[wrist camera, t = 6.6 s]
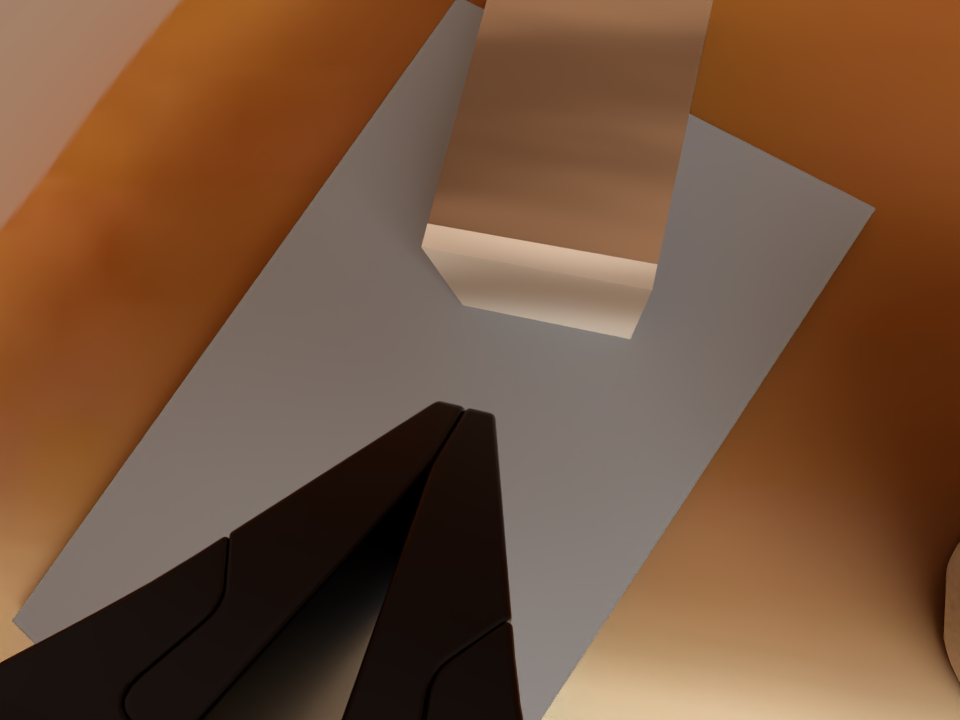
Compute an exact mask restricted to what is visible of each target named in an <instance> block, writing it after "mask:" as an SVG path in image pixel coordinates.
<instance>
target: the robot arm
mask: <svg viewBox="0 0 960 720" xmlns="http://www.w3.org/2000/svg"><path fill="white" fill-rule="evenodd" d="M511 622H512V613H511V601H510V589H509V577H508V564H507V552H506V540H505V528H504V515H503V503H502V491H501V479H500V467H499V454H498V442H497V430H496V419H495V416H494V414H493V413H490V412H485V411H481V410H477V409H473V408H469V409H466V410H465V409H464V408H463V406H460V405H456V404H452V403H447V402H443V401H437V402H434V403H432V404H431V405H429V406H428V407H426V408H425V409H423V410H421V411H420V412H418V413H417V414H415V415H414V416H412V417H410V418H409V419H407V420H406V421H404V422H403V423H401V424H399V425H398V426H396V427H395V428H393V429H392V430H390V431H388V432H387V433H385V434H384V435H382V436H381V437H379V438H378V439H376V440H374V441H373V442H371V443H370V444H368V445H367V446H365V447H363V448H362V449H360V450H359V451H357V452H356V453H354V454H352V455H351V456H349V457H348V458H346V459H345V460H343V461H342V462H340V463H338V464H337V465H335V466H334V467H332V468H331V469H329V470H327V471H326V472H324V473H323V474H321V475H320V476H318V477H316V478H315V479H313V480H312V481H310V482H309V483H307V484H305V485H304V486H302V487H301V488H299V489H298V490H296V491H295V492H293V493H291V494H290V495H288V496H287V497H285V498H284V499H282V500H280V501H279V502H277V503H276V504H274V505H273V506H271V507H269V508H268V509H266V510H265V511H263V512H262V513H260V514H258V515H257V516H255V517H254V518H252V519H251V520H249V521H248V522H246V523H244V524H243V525H241V526H240V527H238V528H237V529H235V530H233V531H232V532H231V533H230V535H229V538H228V537H222V538H220V539H219V540H217V541H216V542H214V543H213V544H211V545H210V546H208V547H206V548H205V549H203V550H202V551H200V552H199V553H197V554H195V555H194V556H192V557H190V558H189V559H187V560H186V561H184V562H182V563H181V564H179V565H177V566H176V567H174V568H172V569H171V570H169V571H167V572H166V573H164V574H162V575H161V576H159V577H158V578H156V579H154V580H153V581H151V582H149V583H147V584H146V585H144V586H142V587H140V588H138V589H137V590H135V591H133V592H131V593H129V594H128V595H126V596H124V597H122V598H120V599H118V600H117V601H115V602H113V603H111V604H109V605H108V606H106V607H104V608H102V609H100V610H99V611H97V612H95V613H93V614H91V615H89V616H87V617H85V618H84V619H82V620H80V621H78V622H76V623H74V624H72V625H70V626H68V627H67V628H65V629H63V630H61V631H59V632H57V633H55V634H53V635H51V636H50V637H48V638H46V639H44V640H42V641H40V642H38V643H36V644H34V645H33V646H31V647H29V648H27V649H25V650H23V651H21V652H19V653H17V654H16V655H14V656H12V657H10V658H8V659H6V660H4V661H2V662H1V663H0V720H524V719H523V714H522V708H521V701H520V692H519V684H518V676H517V667H516V659H515V646H514V634H513V626H512V624H511Z"/></svg>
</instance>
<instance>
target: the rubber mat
mask: <svg viewBox="0 0 960 720" xmlns="http://www.w3.org/2000/svg"><path fill="white" fill-rule="evenodd" d="M483 12H484V9H482V8H480V7H478V6H476V5H474V4H472V3H470V2H468V1H466V0H455V1H454V3H453V4H452V6H451V7H450V8H449V10H448V11H447V13H446V14H445V15H444V17H443V18H442V20H441V21H440V22H439V24H438V25H437V27H436V28H435V29H434V31H433V32H432V34H431V35H430V36H429V38H428V39H427V41H426V42H425V43H424V45H423V46H422V48H421V49H420V50H419V52H418V53H417V55H416V56H415V57H414V59H413V60H412V62H411V63H410V64H409V66H408V67H407V69H406V70H405V71H404V73H403V74H402V76H401V77H400V78H399V80H398V81H397V83H396V84H395V85H394V87H393V88H392V90H391V91H390V92H389V94H388V95H387V97H386V98H385V99H384V101H383V102H382V104H381V105H380V106H379V108H378V109H377V111H376V112H375V113H374V115H373V116H372V118H371V119H370V120H369V122H368V123H367V125H366V126H365V127H364V129H363V130H362V132H361V133H360V134H359V136H358V137H357V139H356V140H355V141H354V143H353V144H352V146H351V147H350V148H349V150H348V151H347V153H346V154H345V155H344V157H343V158H342V160H341V161H340V162H339V164H338V165H337V167H336V168H335V169H334V171H333V172H332V174H331V175H330V176H329V178H328V179H327V181H326V182H325V183H324V185H323V186H322V188H321V189H320V190H319V192H318V193H317V195H316V196H315V197H314V199H313V200H312V202H311V203H310V204H309V206H308V207H307V209H306V210H305V211H304V213H303V214H302V216H301V217H300V218H299V220H298V221H297V223H296V224H295V225H294V227H293V228H292V230H291V231H290V232H289V234H288V235H287V237H286V238H285V239H284V241H283V242H282V244H281V245H280V246H279V248H278V249H277V251H276V252H275V253H274V255H273V256H272V258H271V259H270V260H269V262H268V263H267V265H266V266H265V267H264V269H263V270H262V272H261V273H260V274H259V276H258V277H257V279H256V280H255V281H254V283H253V284H252V286H251V287H250V288H249V290H248V291H247V293H246V294H245V295H244V297H243V298H242V300H241V301H240V302H239V304H238V305H237V307H236V308H235V309H234V311H233V312H232V314H231V315H230V316H229V318H228V319H227V321H226V322H225V323H224V325H223V326H222V328H221V329H220V330H219V332H218V333H217V335H216V336H215V337H214V339H213V340H212V342H211V343H210V344H209V346H208V347H207V349H206V350H205V351H204V353H203V354H202V356H201V357H200V358H199V360H198V361H197V363H196V364H195V365H194V367H193V368H192V370H191V371H190V372H189V374H188V375H187V377H186V378H185V379H184V381H183V382H182V384H181V385H180V386H179V388H178V389H177V391H176V392H175V393H174V395H173V396H172V398H171V399H170V400H169V402H168V403H167V405H166V406H165V407H164V409H163V410H162V412H161V413H160V414H159V416H158V417H157V419H156V420H155V421H154V423H153V424H152V426H151V427H150V428H149V430H148V431H147V433H146V434H145V435H144V437H143V438H142V440H141V441H140V442H139V444H138V445H137V447H136V448H135V449H134V451H133V452H132V454H131V455H130V456H129V458H128V459H127V461H126V462H125V463H124V465H123V466H122V468H121V469H120V470H119V472H118V473H117V475H116V476H115V477H114V479H113V480H112V482H111V483H110V484H109V486H108V487H107V489H106V490H105V491H104V493H103V494H102V496H101V497H100V498H99V500H98V501H97V503H96V504H95V505H94V507H93V508H92V510H91V511H90V512H89V514H88V515H87V517H86V518H85V519H84V521H83V522H82V524H81V525H80V526H79V528H78V529H77V531H76V532H75V533H74V535H73V536H72V538H71V539H70V540H69V542H68V543H67V545H66V546H65V547H64V549H63V550H62V552H61V553H60V554H59V556H58V557H57V559H56V560H55V561H54V563H53V564H52V566H51V567H50V568H49V570H48V571H47V573H46V574H45V575H44V577H43V578H42V580H41V581H40V582H39V584H38V585H37V587H36V588H35V589H34V591H33V592H32V594H31V595H30V596H29V598H28V599H27V601H26V602H25V603H24V605H23V606H22V608H21V609H20V610H19V612H18V613H17V615H16V616H15V617H14V619H13V620H12V621H13V622H14V623H15V624H16V625H17V626H18V627H19V628H20V629H21V630H22V631H23V632H24V633H25V634H26V635H27V636H28V637H29V638H30V639H31V640H32V641H33V642H34V643H35V644H36V643H38V642H40V641H42V640H44V639H46V638H48V637H50V636H51V635H53V634H55V633H57V632H59V631H61V630H63V629H65V628H67V627H68V626H70V625H72V624H74V623H76V622H78V621H80V620H82V619H84V618H85V617H87V616H89V615H91V614H93V613H95V612H97V611H99V610H100V609H102V608H104V607H106V606H108V605H109V604H111V603H113V602H115V601H117V600H118V599H120V598H122V597H124V596H126V595H128V594H129V593H131V592H133V591H135V590H137V589H138V588H140V587H142V586H144V585H146V584H147V583H149V582H151V581H153V580H154V579H156V578H158V577H159V576H161V575H162V574H164V573H166V572H167V571H169V570H171V569H172V568H174V567H176V566H177V565H179V564H181V563H182V562H184V561H186V560H187V559H189V558H190V557H192V556H194V555H195V554H197V553H199V552H200V551H202V550H203V549H205V548H206V547H208V546H210V545H211V544H213V543H214V542H216V541H217V540H219V539H220V538H222V537H228V538H229V535H230V533H231V532H232V531H233V530H235V529H237V528H238V527H240V526H241V525H243V524H244V523H246V522H248V521H249V520H251V519H252V518H254V517H255V516H257V515H258V514H260V513H262V512H263V511H265V510H266V509H268V508H269V507H271V506H273V505H274V504H276V503H277V502H279V501H280V500H282V499H284V498H285V497H287V496H288V495H290V494H291V493H293V492H295V491H296V490H298V489H299V488H301V487H302V486H304V485H305V484H307V483H309V482H310V481H312V480H313V479H315V478H316V477H318V476H320V475H321V474H323V473H324V472H326V471H327V470H329V469H331V468H332V467H334V466H335V465H337V464H338V463H340V462H342V461H343V460H345V459H346V458H348V457H349V456H351V455H352V454H354V453H356V452H357V451H359V450H360V449H362V448H363V447H365V446H367V445H368V444H370V443H371V442H373V441H374V440H376V439H378V438H379V437H381V436H382V435H384V434H385V433H387V432H388V431H390V430H392V429H393V428H395V427H396V426H398V425H399V424H401V423H403V422H404V421H406V420H407V419H409V418H410V417H412V416H414V415H415V414H417V413H418V412H420V411H421V410H423V409H425V408H426V407H428V406H429V405H431V404H432V403H434V402H437V401H443V402H447V403H452V404H456V405H460V406H463V408H464V409H465V410H466V409H469V408H473V409H477V410H481V411H485V412H490V413H493V414H494V416H495V419H496V430H497V442H498V454H499V467H500V479H501V491H502V503H503V515H504V528H505V540H506V552H507V564H508V577H509V589H510V601H511V613H512V622H511V624H512V626H513V634H514V646H515V659H516V667H517V676H518V684H519V692H520V701H521V708H522V714H523V719H524V720H541V719H542V717H543V716H544V714H545V713H546V711H547V710H548V708H549V707H550V705H551V704H552V702H553V700H554V699H555V697H556V696H557V694H558V693H559V691H560V690H561V688H562V687H563V685H564V684H565V682H566V681H567V679H568V678H569V676H570V675H571V673H572V671H573V670H574V668H575V667H576V665H577V664H578V662H579V661H580V659H581V658H582V656H583V655H584V653H585V652H586V650H587V649H588V647H589V646H590V644H591V642H592V641H593V639H594V638H595V636H596V635H597V633H598V632H599V630H600V629H601V627H602V626H603V624H604V623H605V621H606V620H607V618H608V617H609V615H610V613H611V612H612V610H613V609H614V607H615V606H616V604H617V603H618V601H619V600H620V598H621V597H622V595H623V594H624V592H625V591H626V589H627V588H628V586H629V584H630V583H631V581H632V580H633V578H634V577H635V575H636V574H637V572H638V571H639V569H640V568H641V566H642V565H643V563H644V562H645V560H646V559H647V557H648V555H649V554H650V552H651V551H652V549H653V548H654V546H655V545H656V543H657V542H658V540H659V539H660V537H661V536H662V534H663V533H664V531H665V530H666V528H667V526H668V525H669V523H670V522H671V520H672V519H673V517H674V516H675V514H676V513H677V511H678V510H679V508H680V507H681V505H682V504H683V502H684V501H685V499H686V497H687V496H688V494H689V493H690V491H691V490H692V488H693V487H694V485H695V484H696V482H697V481H698V479H699V478H700V476H701V475H702V473H703V472H704V470H705V468H706V467H707V465H708V464H709V462H710V461H711V459H712V458H713V456H714V455H715V453H716V452H717V450H718V449H719V447H720V446H721V444H722V443H723V441H724V439H725V438H726V436H727V435H728V433H729V432H730V430H731V429H732V427H733V426H734V424H735V423H736V421H737V420H738V418H739V417H740V415H741V414H742V412H743V410H744V409H745V407H746V406H747V404H748V403H749V401H750V400H751V398H752V397H753V395H754V394H755V392H756V391H757V389H758V388H759V386H760V385H761V383H762V381H763V380H764V378H765V377H766V375H767V374H768V372H769V371H770V369H771V368H772V366H773V365H774V363H775V362H776V360H777V359H778V357H779V355H780V354H781V352H782V351H783V349H784V348H785V346H786V345H787V343H788V342H789V340H790V339H791V337H792V336H793V334H794V333H795V331H796V330H797V328H798V326H799V325H800V323H801V322H802V320H803V319H804V317H805V316H806V314H807V313H808V311H809V310H810V308H811V307H812V305H813V304H814V302H815V301H816V299H817V297H818V296H819V294H820V293H821V291H822V290H823V288H824V287H825V285H826V284H827V282H828V281H829V279H830V278H831V276H832V275H833V273H834V272H835V270H836V268H837V267H838V265H839V264H840V262H841V261H842V259H843V258H844V256H845V255H846V253H847V252H848V250H849V249H850V247H851V246H852V244H853V243H854V241H855V239H856V238H857V236H858V235H859V233H860V232H861V230H862V229H863V227H864V226H865V224H866V223H867V221H868V220H869V218H870V217H871V215H872V214H873V212H874V210H875V209H876V208H874V207H873V206H871V205H869V204H867V203H865V202H863V201H861V200H859V199H857V198H855V197H853V196H851V195H849V194H847V193H845V192H843V191H841V190H839V189H837V188H835V187H833V186H831V185H829V184H827V183H825V182H823V181H821V180H819V179H817V178H815V177H813V176H811V175H809V174H807V173H805V172H804V171H802V170H800V169H798V168H796V167H794V166H792V165H790V164H788V163H786V162H784V161H782V160H780V159H778V158H776V157H774V156H772V155H770V154H768V153H766V152H764V151H762V150H760V149H758V148H756V147H754V146H752V145H750V144H748V143H746V142H744V141H742V140H740V139H738V138H737V137H735V136H733V135H731V134H729V133H727V132H725V131H723V130H721V129H719V128H717V127H715V126H713V125H711V124H709V123H707V122H705V121H703V120H701V119H699V118H697V117H695V116H693V115H691V114H689V118H688V123H687V127H686V132H685V137H684V142H683V146H682V151H681V156H680V161H679V165H678V170H677V175H676V180H675V184H674V189H673V194H672V198H671V203H670V208H669V213H668V217H667V222H666V227H665V232H664V236H663V241H662V246H661V251H660V255H659V260H658V265H657V269H656V274H655V279H654V284H653V288H652V292H651V294H650V296H649V298H648V301H647V303H646V305H645V307H644V310H643V312H642V314H641V316H640V319H639V321H638V323H637V325H636V327H635V330H634V332H633V334H632V336H631V339H627V338H622V337H617V336H612V335H607V334H602V333H597V332H592V331H587V330H582V329H577V328H572V327H567V326H563V325H558V324H553V323H548V322H543V321H538V320H533V319H528V318H523V317H518V316H513V315H508V314H503V313H498V312H494V311H489V310H484V309H479V308H474V307H469V306H464V305H462V303H461V302H460V300H459V299H458V298H457V296H456V295H455V294H454V292H453V291H452V289H451V288H450V287H449V285H448V284H447V282H446V281H445V280H444V278H443V277H442V275H441V274H440V273H439V271H438V270H437V268H436V267H435V266H434V264H433V263H432V261H431V260H430V259H429V257H428V256H427V254H426V253H425V252H424V250H423V249H422V248H421V246H422V242H423V239H424V235H425V231H426V227H427V223H428V220H429V216H430V212H431V208H432V205H433V201H434V197H435V193H436V190H437V186H438V182H439V178H440V174H441V171H442V167H443V163H444V159H445V156H446V152H447V148H448V144H449V141H450V137H451V133H452V129H453V125H454V122H455V118H456V114H457V110H458V107H459V103H460V99H461V95H462V92H463V88H464V84H465V80H466V76H467V73H468V69H469V65H470V61H471V58H472V54H473V50H474V46H475V42H476V39H477V35H478V31H479V27H480V24H481V20H482V16H483Z"/></svg>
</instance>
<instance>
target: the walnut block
mask: <svg viewBox="0 0 960 720" xmlns="http://www.w3.org/2000/svg"><path fill="white" fill-rule="evenodd" d="M712 4H713V0H487V1H486V5H485V9H484V12H483V16H482V20H481V24H480V27H479V31H478V35H477V39H476V42H475V46H474V50H473V54H472V58H471V61H470V65H469V69H468V73H467V76H466V80H465V84H464V88H463V92H462V95H461V99H460V103H459V107H458V110H457V114H456V118H455V122H454V125H453V129H452V133H451V137H450V141H449V144H448V148H447V152H446V156H445V159H444V163H443V167H442V171H441V174H440V178H439V182H438V186H437V190H436V193H435V197H434V201H433V205H432V208H431V212H430V216H429V220H428V223H427V227H426V231H425V235H424V239H423V242H422V246H421V248H422V249H423V250H424V252H425V253H426V254H427V256H428V257H429V259H430V260H431V261H432V263H433V264H434V266H435V267H436V268H437V270H438V271H439V273H440V274H441V275H442V277H443V278H444V280H445V281H446V282H447V284H448V285H449V287H450V288H451V289H452V291H453V292H454V294H455V295H456V296H457V298H458V299H459V300H460V302H461V303H462V305H464V306H469V307H474V308H479V309H484V310H489V311H494V312H498V313H503V314H508V315H513V316H518V317H523V318H528V319H533V320H538V321H543V322H548V323H553V324H558V325H563V326H567V327H572V328H577V329H582V330H587V331H592V332H597V333H602V334H607V335H612V336H617V337H622V338H627V339H631V336H632V334H633V332H634V330H635V327H636V325H637V323H638V321H639V319H640V316H641V314H642V312H643V310H644V307H645V305H646V303H647V301H648V298H649V296H650V294H651V292H652V288H653V284H654V279H655V274H656V269H657V265H658V260H659V255H660V251H661V246H662V241H663V236H664V232H665V227H666V222H667V217H668V213H669V208H670V203H671V198H672V194H673V189H674V184H675V180H676V175H677V170H678V165H679V161H680V156H681V151H682V146H683V142H684V137H685V132H686V127H687V123H688V118H689V113H690V108H691V104H692V99H693V94H694V90H695V85H696V80H697V75H698V71H699V66H700V61H701V56H702V52H703V47H704V42H705V37H706V33H707V28H708V23H709V18H710V14H711V9H712Z"/></svg>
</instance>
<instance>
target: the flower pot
mask: <svg viewBox="0 0 960 720" xmlns="http://www.w3.org/2000/svg"><path fill="white" fill-rule="evenodd" d="M944 642H945V646H946V650H947V654H948V657H949V660H950V663H951V665H952V667H953V670H954V672H955V674H956V676H957V678H958V680H959V682H960V542H959V544H958V545H957V547H956V548H955V550H954V552H953V554H952V556H951V558H950V560H949V563H948V566H947V571H946V598H945V617H944Z"/></svg>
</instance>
